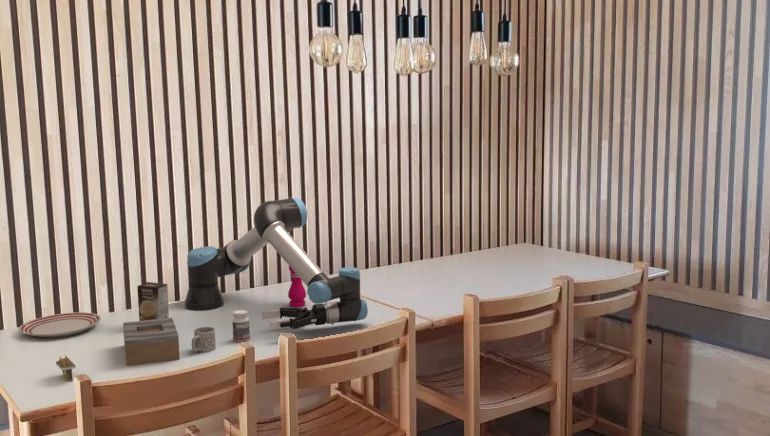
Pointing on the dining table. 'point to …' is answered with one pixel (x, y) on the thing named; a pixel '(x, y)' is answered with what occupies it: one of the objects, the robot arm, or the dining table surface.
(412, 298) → the dining table surface
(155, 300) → the coffee box
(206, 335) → the mug
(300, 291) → the pepper mill
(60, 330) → the dinner plate
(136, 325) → the tissue box
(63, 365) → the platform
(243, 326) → the pill bottle
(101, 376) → the dining table surface
